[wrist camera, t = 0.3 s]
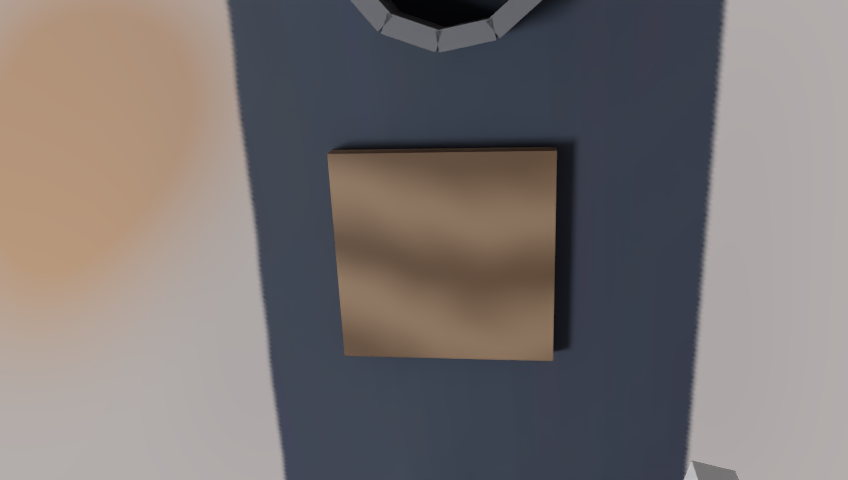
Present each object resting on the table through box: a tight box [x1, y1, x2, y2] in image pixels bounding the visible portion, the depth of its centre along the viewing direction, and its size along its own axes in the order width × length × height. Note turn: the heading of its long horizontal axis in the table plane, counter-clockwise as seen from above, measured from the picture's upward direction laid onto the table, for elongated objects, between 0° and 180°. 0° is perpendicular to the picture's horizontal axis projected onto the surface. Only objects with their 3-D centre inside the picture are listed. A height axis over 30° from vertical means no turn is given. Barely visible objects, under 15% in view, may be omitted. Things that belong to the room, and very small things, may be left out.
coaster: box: [327, 147, 557, 361], centre depth 40 cm, size 12×12×1 cm
